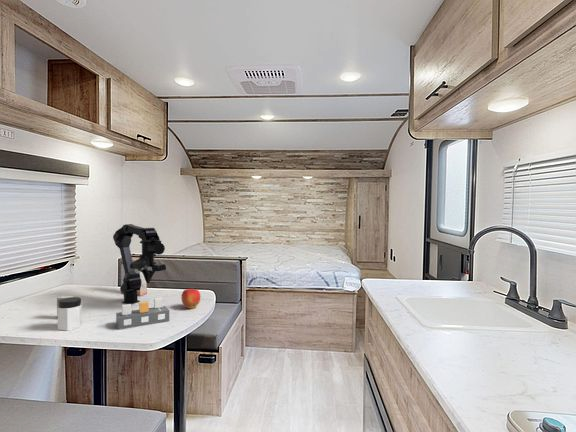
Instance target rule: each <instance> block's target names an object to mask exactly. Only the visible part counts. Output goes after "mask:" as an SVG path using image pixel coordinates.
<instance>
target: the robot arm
mask: <svg viewBox="0 0 576 432" xmlns="http://www.w3.org/2000/svg"><path fill="white" fill-rule="evenodd" d="M134 235H136V236H138V238H139V239H140V241H139V243H140V244H141V254H139V259H137V260H136V261H134V262H133V260H132V258H133V256H132V253H131V248H130V246H131V242H132V238H133V237H134ZM112 239H113V241H114V244H115V246H116V247H117V248H118V249H119V253H120V256H121V259H122V262H123V266H124V271H125V276H124V279H123V284H122V286H121V285H120V287H119V289H120V293H121V292H123V293H124V294H123V301H122V302H121V304H123V305H126V304H131V305H133V304H136V303H140V300H139V299H138V297H139V296H138V294H137V291H138V290H140V288H141V284H142V282H141V278H140V274H139V273H138V274H137V273H136V272H135V269H138V270H139V271H141V272H142V273H143V275H144V278H145V280H146V283H147V284H150V282H151V281H152V278H153V277H154V275H155V273H156V272H161V271H165V270H167V265H166V264H164V263H156V261H155V257H156V255H158V256H159V255H163V254H164V252H165V249H166V247H165V245H164V244H163V243H162V240H160V236H159V234H158V232H157V229H156V228H155V227H143V226H142V227H141V226H138V225H135V224H132V223H130V224H123V225H122V226H121V227H120V228H119V229H117V230H116V231H115V233H114V234H113V236H112Z"/></svg>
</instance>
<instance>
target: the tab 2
mask: <svg viewBox="0 0 576 432" xmlns="http://www.w3.org/2000/svg"><path fill="white" fill-rule="evenodd" d="M138 306H139V308H138V310H139V312H140V313H143V312H149V308H150V306H149V301H143V302H138Z"/></svg>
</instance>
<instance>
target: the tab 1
mask: <svg viewBox="0 0 576 432" xmlns="http://www.w3.org/2000/svg"><path fill="white" fill-rule="evenodd" d="M131 311H132V304H121V312H122V315H128V314H131Z"/></svg>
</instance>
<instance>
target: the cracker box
mask: <svg viewBox="0 0 576 432" xmlns="http://www.w3.org/2000/svg"><path fill="white" fill-rule="evenodd" d="M139 258H140V257H139ZM139 258H138V257H137V258H136V257H132V260H133V262H134V261H136V260H137V259H139ZM120 262H121V263H120V265H121V267H120V268H121V269H120V270H121V271H120V281H121V282H120V287H121V286H122V284H123V279H124V276H125V271H124V266H123V262H122V258H121V261H120ZM135 272H136V273H137V274H138V273H139V274H140V278H141V282H142V284H141V288H140V290H138V291H137V294H138V297H141V296H144V295H147V294H148V291H147V290H148V289H147V288H148V285H147V284H148V283H146V280H145V278H144V275H143V273H142V272H141V271H139V270H138V269H135ZM120 294H121V295H124V293H123V292H121V291H120Z"/></svg>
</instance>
